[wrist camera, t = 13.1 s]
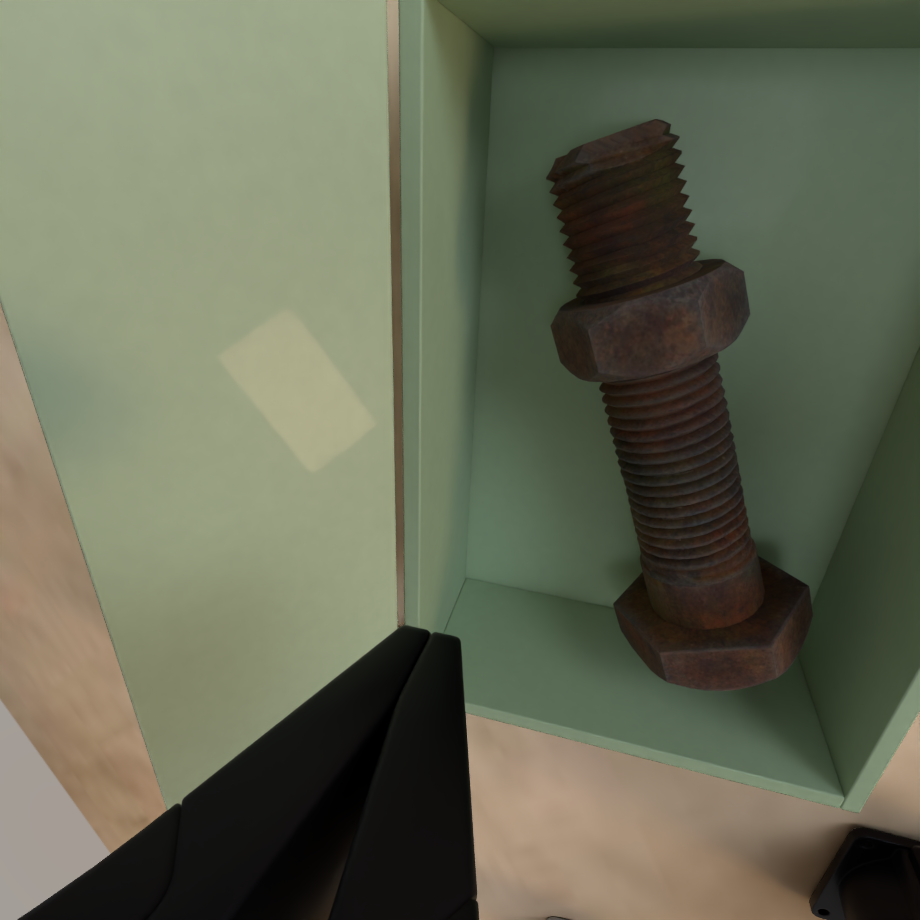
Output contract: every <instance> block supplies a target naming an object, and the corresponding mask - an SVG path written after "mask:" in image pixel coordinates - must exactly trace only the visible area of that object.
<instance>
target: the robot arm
mask: <svg viewBox="0 0 920 920" xmlns="http://www.w3.org/2000/svg"><path fill="white" fill-rule="evenodd" d="M476 898H477V884H476V868H475V853H474V837H473V822H472V806H471V791H470V775H469V760H468V744H467V729H466V713H465V698H464V682H463V667H462V651H461V641H460V639H459V638H458V637H456V636H452V635H448V634H443V633H439V632H434V633H432V634H431V633H430V632H429V631H428V630H426V629H422V628H418V627H413V626H409V625H403V626H401V627H399V628H398V629H396V630H395V631H394V632H392V633H391V634H390V635H389V636H387V637H386V638H385V639H384V640H382V641H381V642H380V643H379V644H377V645H376V646H375V647H374V648H372V649H371V650H370V651H368V652H367V653H366V654H365V655H363V656H362V657H361V658H360V659H358V660H357V661H356V662H355V663H353V664H352V665H351V666H350V667H348V668H347V669H346V670H344V671H343V672H342V673H341V674H339V675H338V676H337V677H336V678H334V679H333V680H332V681H331V682H329V683H328V684H327V685H326V686H324V687H323V688H322V689H320V690H319V691H318V692H317V693H315V694H314V695H313V696H312V697H310V698H309V699H308V700H307V701H305V702H304V703H303V704H301V705H300V706H299V707H298V708H296V709H295V710H294V711H293V712H291V713H290V714H289V715H288V716H286V717H285V718H284V719H283V720H281V721H280V722H279V723H277V724H276V725H275V726H274V727H272V728H271V729H270V730H269V731H267V732H266V733H265V734H264V735H262V736H261V737H260V738H259V739H257V740H256V741H255V742H253V743H252V744H251V745H250V746H248V747H247V748H246V749H245V750H243V751H242V752H241V753H240V754H238V755H237V756H236V757H234V758H233V759H232V760H231V761H229V762H228V763H227V764H226V765H224V766H223V767H222V768H221V769H219V770H218V771H217V772H216V773H214V774H213V775H212V776H210V777H209V778H208V779H207V780H205V781H204V782H203V783H202V784H200V785H199V786H198V787H197V788H195V789H194V790H193V791H192V792H190V793H189V794H188V795H186V796H185V797H184V798H183V800H182V805H181V804H179V803H176V804H175V805H173V806H172V807H171V808H170V809H168V810H167V811H166V812H165V813H163V814H162V815H161V816H159V817H158V818H157V819H156V820H154V821H153V822H152V823H151V824H149V825H148V826H147V827H146V828H144V829H143V830H142V831H140V832H139V833H138V834H136V835H135V836H134V837H132V838H131V839H130V840H128V841H127V842H126V843H124V844H123V845H122V846H121V847H119V848H118V849H117V850H115V851H114V852H113V853H111V854H110V855H109V856H107V857H106V858H105V859H103V860H102V861H101V862H99V863H98V864H97V865H95V866H94V867H93V868H91V869H90V870H88V871H87V872H85V873H84V874H83V875H81V876H80V877H78V878H77V879H75V880H74V881H73V882H71V883H70V884H68V885H67V886H65V887H64V888H63V889H61V890H60V891H58V892H57V893H55V894H54V895H53V896H51V897H50V898H48V899H47V900H45V901H44V902H43V903H41V904H40V905H38V906H37V907H35V908H34V909H32V910H31V911H30V912H28V913H27V914H25V915H24V916H22V917H21V918H19V919H18V920H479V909H478V902H477V901H476ZM809 903H810V907H811V911H812V913H813V914H814V915H815V916H817V917H820V918H823V919H826V920H920V842H918V841H915V840H911V839H907V838H903V837H899V836H895V835H891V834H888V833H884V832H880V831H876V830H872V829H868V828H855V829H853V830H852V831H851V832H850V833H849V835H848V836H847V838H846V840H845V841H844V843H843V845H842V846H841V848H840V850H839V851H838V853H837V855H836V856H835V858H834V860H833V861H832V863H831V865H830V866H829V868H828V870H827V871H826V873H825V875H824V876H823V878H822V880H821V881H820V883H819V885H818V886H817V888H816V890H815V892H814V893H813V895H812V897H811V898H810V901H809Z"/></svg>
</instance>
